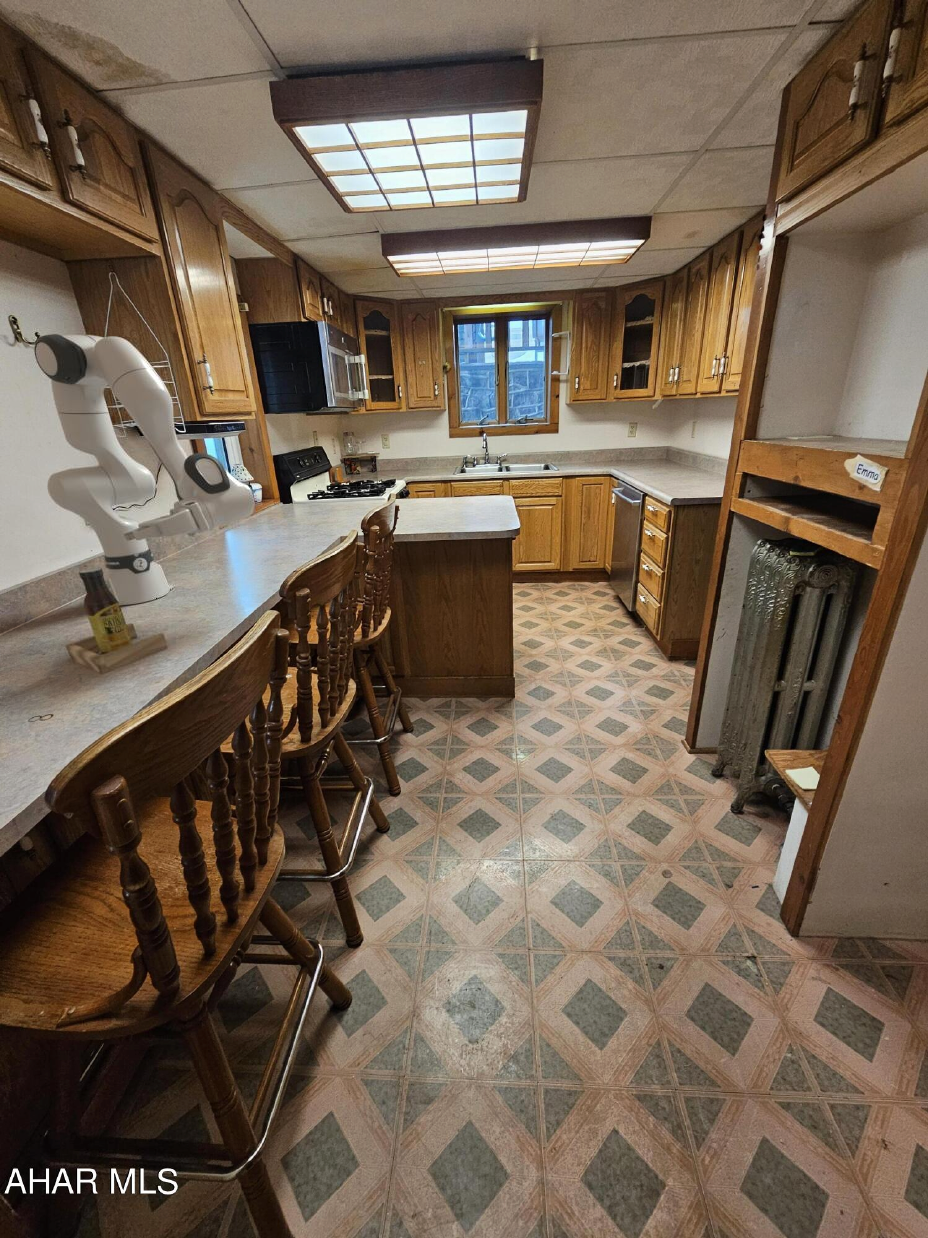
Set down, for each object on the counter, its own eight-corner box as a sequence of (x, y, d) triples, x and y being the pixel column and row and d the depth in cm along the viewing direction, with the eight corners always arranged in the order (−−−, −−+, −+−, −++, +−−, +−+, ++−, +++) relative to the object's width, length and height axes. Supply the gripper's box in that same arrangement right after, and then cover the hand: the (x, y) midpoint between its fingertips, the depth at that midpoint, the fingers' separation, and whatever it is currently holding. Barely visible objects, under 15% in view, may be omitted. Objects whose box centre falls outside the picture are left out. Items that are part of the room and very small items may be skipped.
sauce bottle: (118, 660, 107) (86, 575, 99) (95, 659, 108) (61, 575, 101) (142, 647, 113) (113, 565, 105) (120, 647, 114) (89, 566, 107)
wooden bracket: (168, 647, 112) (163, 634, 111) (102, 673, 101) (96, 659, 100) (135, 636, 120) (130, 623, 119) (71, 659, 110) (65, 645, 108)
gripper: (171, 507, 124) (112, 525, 115) (199, 502, 110) (133, 522, 101) (183, 531, 126) (126, 550, 118) (211, 529, 112) (148, 550, 104)
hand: (129, 537), depth 109 cm, fingers open, 8 cm apart
